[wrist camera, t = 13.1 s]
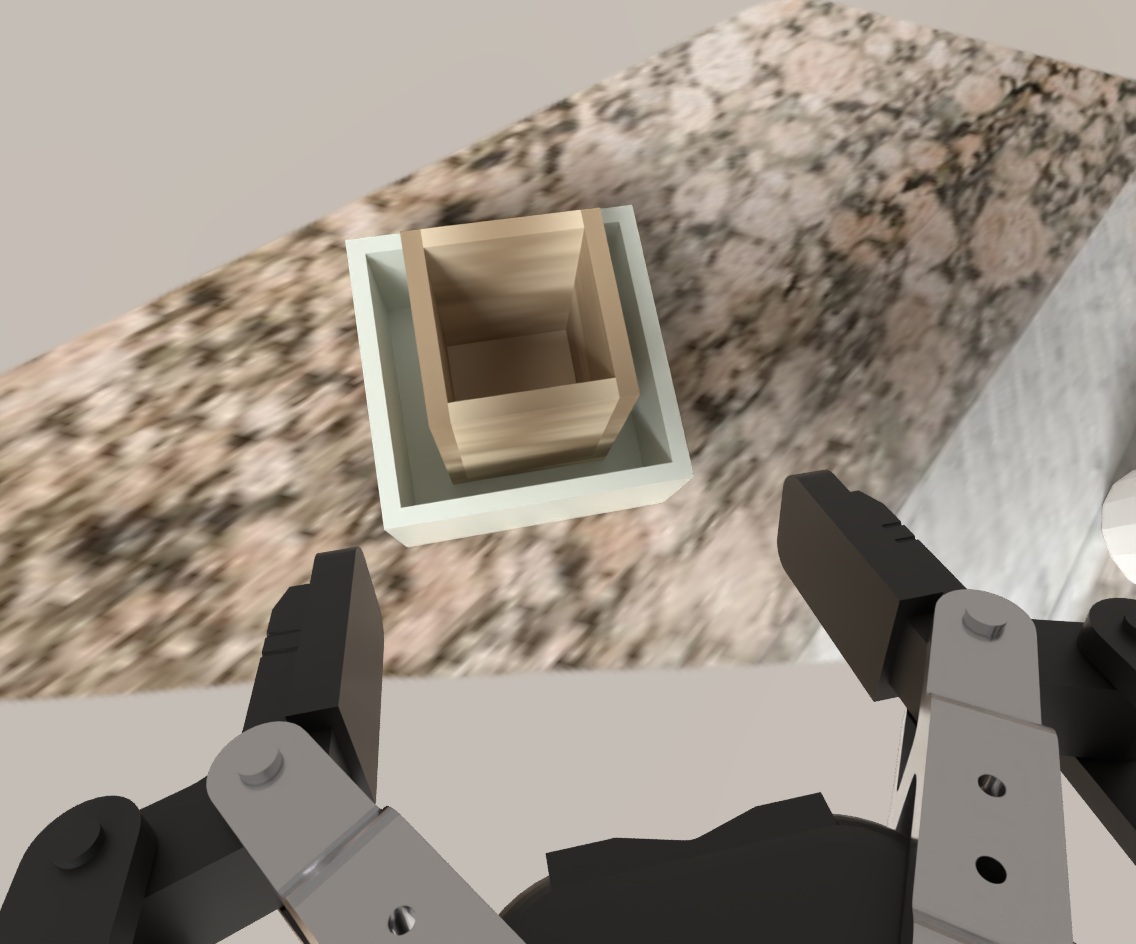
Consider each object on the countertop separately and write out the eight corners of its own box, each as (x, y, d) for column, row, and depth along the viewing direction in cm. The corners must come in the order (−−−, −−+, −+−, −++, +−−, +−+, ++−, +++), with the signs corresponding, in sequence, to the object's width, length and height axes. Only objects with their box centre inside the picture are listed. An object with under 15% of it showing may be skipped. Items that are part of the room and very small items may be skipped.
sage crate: (612, 272, 30) (632, 204, 25) (662, 502, 28) (694, 476, 23) (373, 305, 29) (345, 240, 24) (407, 547, 27) (384, 529, 22)
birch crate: (576, 320, 29) (599, 207, 21) (604, 459, 28) (640, 394, 20) (430, 340, 28) (399, 231, 21) (452, 484, 27) (429, 426, 19)
